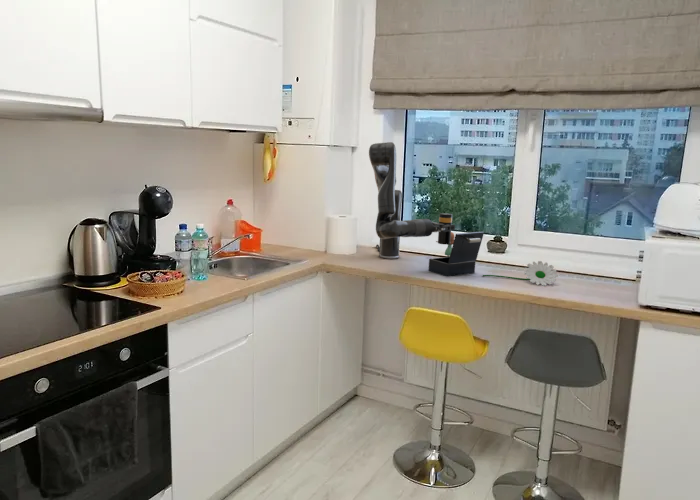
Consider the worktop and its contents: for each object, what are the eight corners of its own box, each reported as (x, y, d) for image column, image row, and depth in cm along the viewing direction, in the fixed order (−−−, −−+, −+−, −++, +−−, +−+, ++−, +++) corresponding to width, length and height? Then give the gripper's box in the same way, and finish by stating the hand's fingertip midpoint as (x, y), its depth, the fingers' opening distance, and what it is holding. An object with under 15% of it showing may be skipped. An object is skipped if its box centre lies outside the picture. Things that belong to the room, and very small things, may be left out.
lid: (455, 233, 221) (462, 237, 218) (482, 231, 229) (490, 235, 226) (448, 262, 226) (454, 267, 223) (474, 259, 235) (481, 264, 231)
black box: (428, 270, 238) (429, 258, 237) (454, 267, 246) (455, 256, 245) (447, 276, 227) (448, 264, 226) (474, 273, 235) (475, 261, 234)
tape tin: (435, 242, 237) (436, 213, 234) (444, 242, 239) (446, 213, 237) (443, 244, 232) (445, 214, 230) (453, 244, 235) (455, 214, 233)
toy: (462, 262, 257) (464, 231, 254) (463, 264, 252) (465, 233, 250) (434, 261, 258) (436, 230, 255) (434, 263, 254) (436, 231, 251)
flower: (483, 260, 232) (557, 259, 221) (484, 269, 236) (557, 268, 225) (480, 282, 223) (558, 282, 212) (482, 291, 226) (558, 291, 216)
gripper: (431, 221, 220) (461, 219, 229) (409, 217, 232) (439, 215, 241) (430, 239, 222) (460, 237, 230) (408, 234, 234) (438, 232, 242)
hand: (449, 226), depth 236 cm, fingers closed on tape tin, 5 cm apart
